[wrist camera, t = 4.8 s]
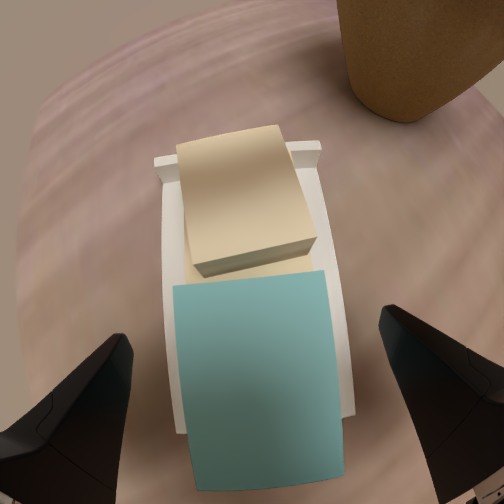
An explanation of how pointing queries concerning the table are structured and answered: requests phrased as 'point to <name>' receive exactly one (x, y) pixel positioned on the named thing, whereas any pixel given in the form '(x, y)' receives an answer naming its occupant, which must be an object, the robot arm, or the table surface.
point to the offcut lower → (266, 270)
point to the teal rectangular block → (259, 381)
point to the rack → (321, 256)
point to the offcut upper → (242, 201)
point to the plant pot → (418, 51)
